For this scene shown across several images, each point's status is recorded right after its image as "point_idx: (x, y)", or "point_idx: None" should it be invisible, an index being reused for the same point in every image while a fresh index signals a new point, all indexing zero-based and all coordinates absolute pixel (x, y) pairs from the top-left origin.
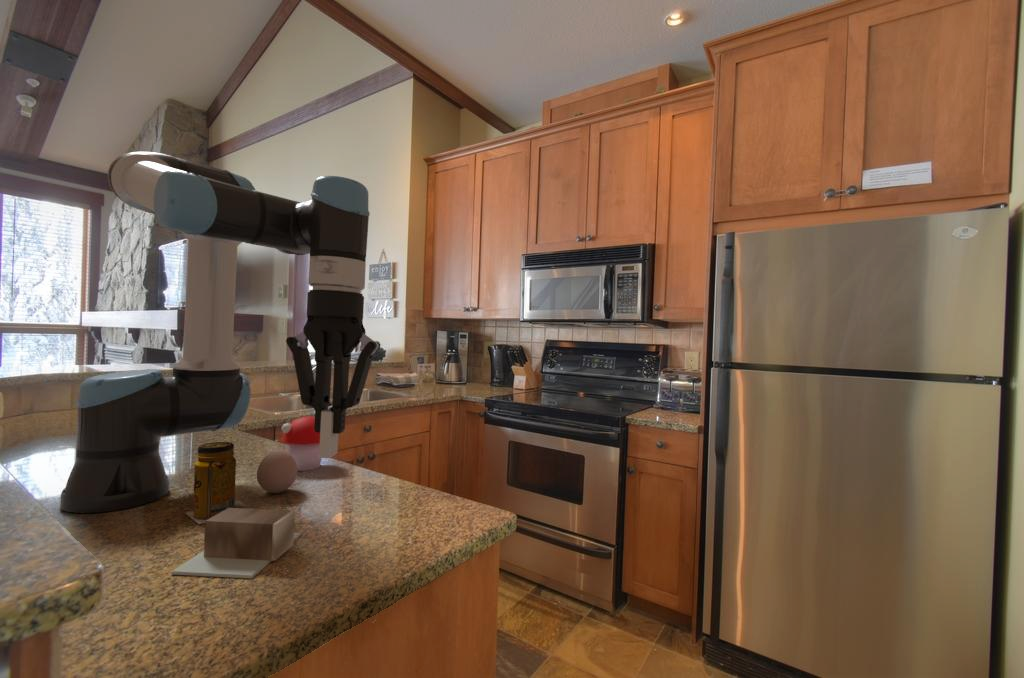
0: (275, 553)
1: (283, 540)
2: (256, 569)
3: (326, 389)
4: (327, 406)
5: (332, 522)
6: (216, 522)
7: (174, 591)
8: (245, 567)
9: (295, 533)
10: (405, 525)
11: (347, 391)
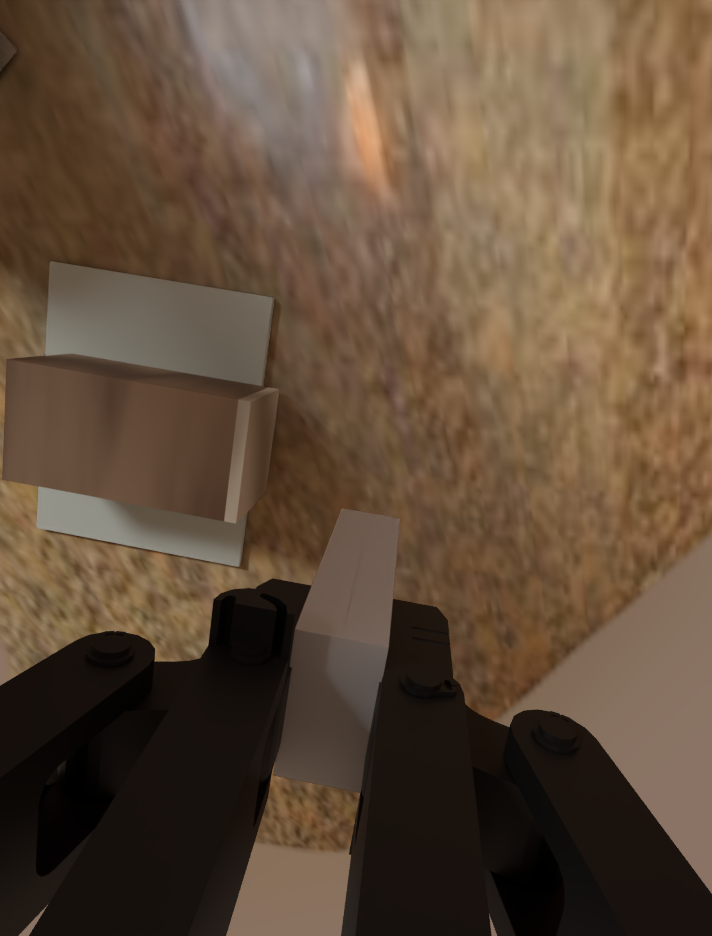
0: (260, 497)
1: (261, 459)
2: (237, 537)
3: (237, 857)
4: (285, 689)
5: (351, 176)
6: (41, 486)
7: (96, 602)
8: (204, 524)
9: (256, 302)
10: (643, 214)
11: (471, 801)
